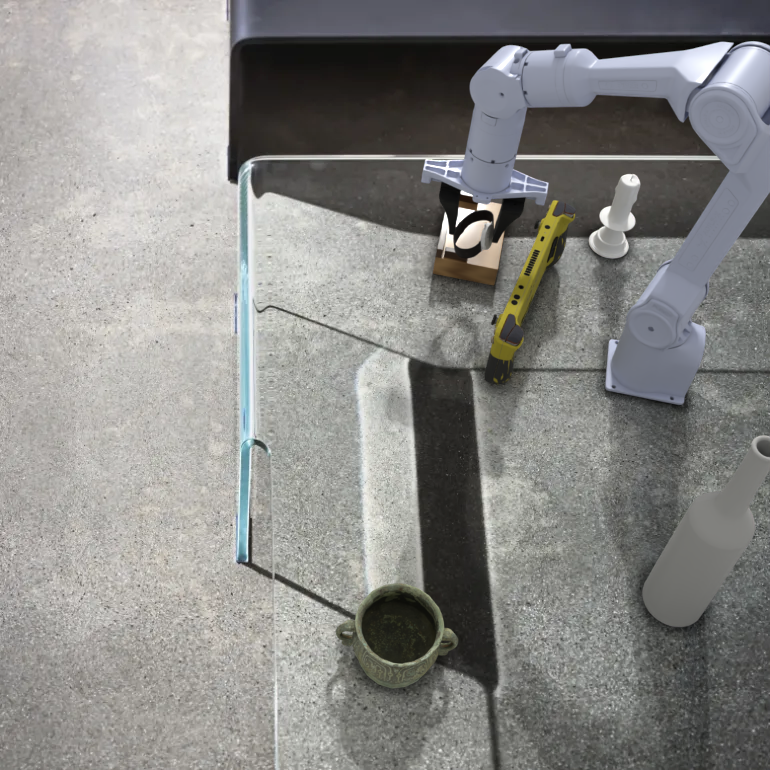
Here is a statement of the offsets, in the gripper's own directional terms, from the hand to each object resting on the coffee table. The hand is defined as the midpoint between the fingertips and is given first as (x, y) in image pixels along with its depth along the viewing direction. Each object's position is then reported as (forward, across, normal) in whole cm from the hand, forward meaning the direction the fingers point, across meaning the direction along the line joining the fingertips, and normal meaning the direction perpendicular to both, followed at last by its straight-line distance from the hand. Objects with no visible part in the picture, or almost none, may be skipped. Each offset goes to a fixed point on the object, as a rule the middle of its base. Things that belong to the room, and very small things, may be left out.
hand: (473, 233), depth 140 cm
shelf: (+8, 0, +6) cm, 10 cm away
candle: (+9, +18, +12) cm, 23 cm away
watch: (+2, 0, 0) cm, 2 cm away
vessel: (+9, 0, -52) cm, 53 cm away
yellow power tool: (+9, +8, -5) cm, 12 cm away
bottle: (+9, +28, -40) cm, 49 cm away
